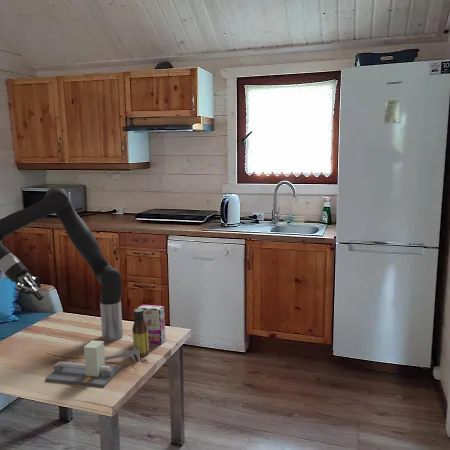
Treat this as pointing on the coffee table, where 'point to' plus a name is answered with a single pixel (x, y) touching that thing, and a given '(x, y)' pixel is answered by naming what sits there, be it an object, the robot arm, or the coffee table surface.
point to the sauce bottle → (140, 333)
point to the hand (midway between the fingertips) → (42, 298)
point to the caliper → (125, 354)
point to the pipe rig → (81, 374)
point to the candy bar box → (154, 323)
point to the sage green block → (94, 357)
